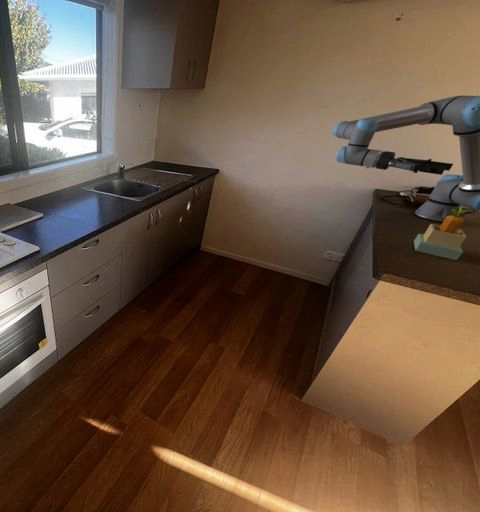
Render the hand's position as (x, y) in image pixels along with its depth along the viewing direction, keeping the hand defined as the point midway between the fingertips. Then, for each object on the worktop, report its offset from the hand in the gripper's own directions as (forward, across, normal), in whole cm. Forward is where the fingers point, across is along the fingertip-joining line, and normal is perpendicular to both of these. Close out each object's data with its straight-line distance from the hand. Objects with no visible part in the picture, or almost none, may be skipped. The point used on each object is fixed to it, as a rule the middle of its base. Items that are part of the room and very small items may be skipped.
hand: (447, 169), depth 114 cm
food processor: (+10, 0, -32) cm, 33 cm away
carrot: (+10, 0, -28) cm, 30 cm away
